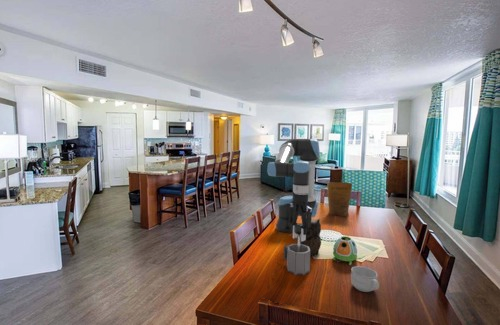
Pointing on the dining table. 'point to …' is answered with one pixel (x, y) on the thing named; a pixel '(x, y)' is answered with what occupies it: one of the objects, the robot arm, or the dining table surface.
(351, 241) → the turtle holder
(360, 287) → the teacup
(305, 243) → the owl
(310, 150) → the robot arm
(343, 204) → the pancake mix bag
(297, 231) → the plunger
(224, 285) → the dining table surface
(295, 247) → the press carafe
